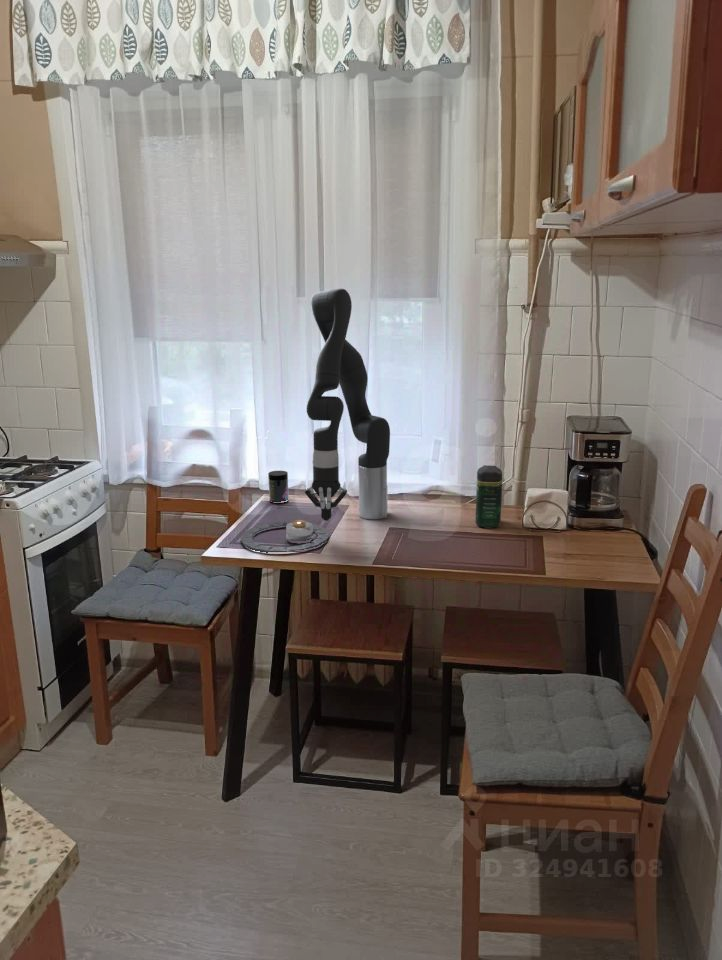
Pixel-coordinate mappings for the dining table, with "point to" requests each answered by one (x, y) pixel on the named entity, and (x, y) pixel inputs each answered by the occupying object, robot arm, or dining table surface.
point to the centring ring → (252, 545)
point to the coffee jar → (488, 496)
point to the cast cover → (299, 530)
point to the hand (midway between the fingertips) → (326, 519)
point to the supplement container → (278, 486)
